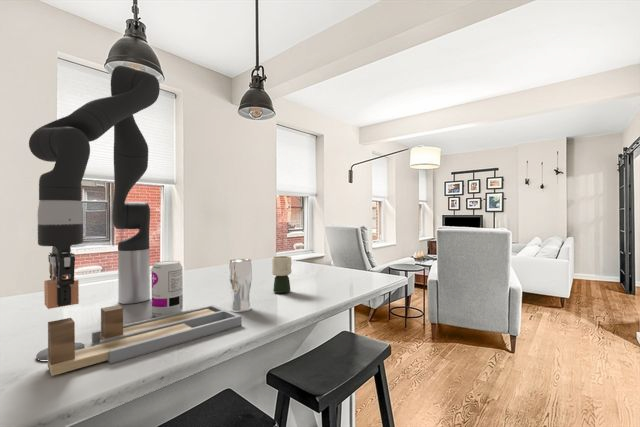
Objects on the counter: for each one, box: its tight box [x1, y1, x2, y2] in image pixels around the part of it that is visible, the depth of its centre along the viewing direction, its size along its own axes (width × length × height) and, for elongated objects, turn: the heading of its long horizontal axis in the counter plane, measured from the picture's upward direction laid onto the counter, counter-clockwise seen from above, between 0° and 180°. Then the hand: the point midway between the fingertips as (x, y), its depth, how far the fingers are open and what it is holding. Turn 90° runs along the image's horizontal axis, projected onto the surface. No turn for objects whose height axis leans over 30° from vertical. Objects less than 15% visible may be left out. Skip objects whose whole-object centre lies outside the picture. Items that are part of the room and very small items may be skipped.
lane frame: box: [91, 304, 243, 365], centre depth 79 cm, size 15×30×2 cm, turn 136°
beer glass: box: [228, 258, 253, 313], centre depth 99 cm, size 7×7×15 cm
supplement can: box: [151, 260, 184, 318], centre depth 95 cm, size 8×8×15 cm
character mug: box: [271, 255, 293, 294], centre depth 120 cm, size 11×7×13 cm, turn 39°
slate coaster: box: [35, 342, 86, 360], centre depth 69 cm, size 8×8×1 cm
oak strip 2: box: [100, 304, 214, 340], centre depth 81 cm, size 6×26×8 cm, turn 136°
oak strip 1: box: [47, 317, 191, 377], centre depth 69 cm, size 6×26×9 cm, turn 136°
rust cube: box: [43, 277, 80, 310], centre depth 69 cm, size 5×5×5 cm
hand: (61, 302), depth 69 cm, fingers closed on rust cube, 5 cm apart
